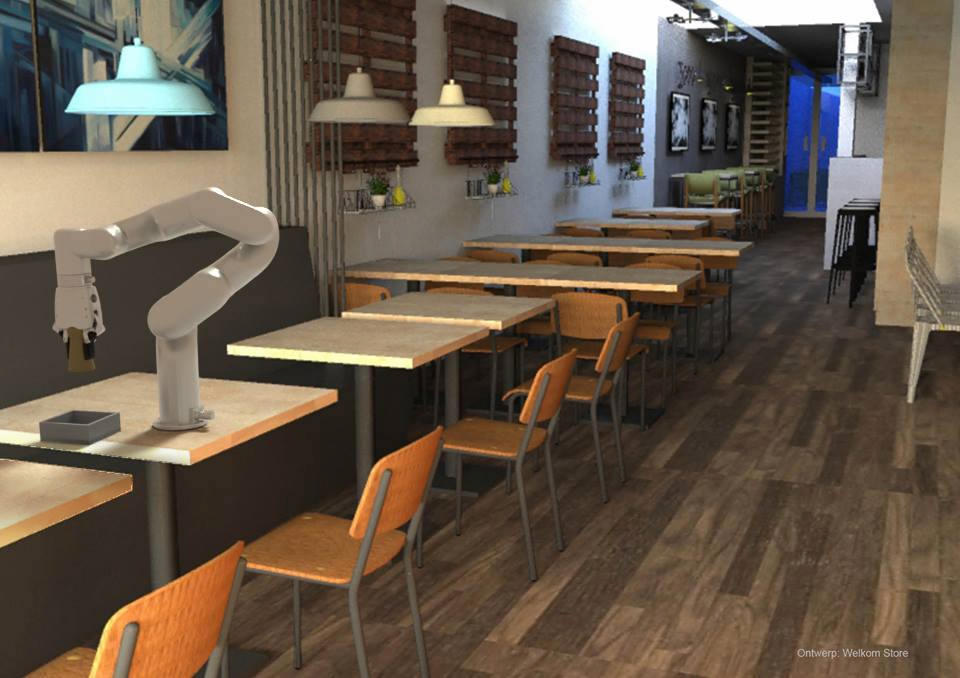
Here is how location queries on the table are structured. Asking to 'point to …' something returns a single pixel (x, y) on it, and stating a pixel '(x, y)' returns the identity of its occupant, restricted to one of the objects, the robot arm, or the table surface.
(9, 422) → the table surface
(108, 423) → the box
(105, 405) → the table surface
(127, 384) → the table surface
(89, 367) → the cork
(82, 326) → the robot arm
